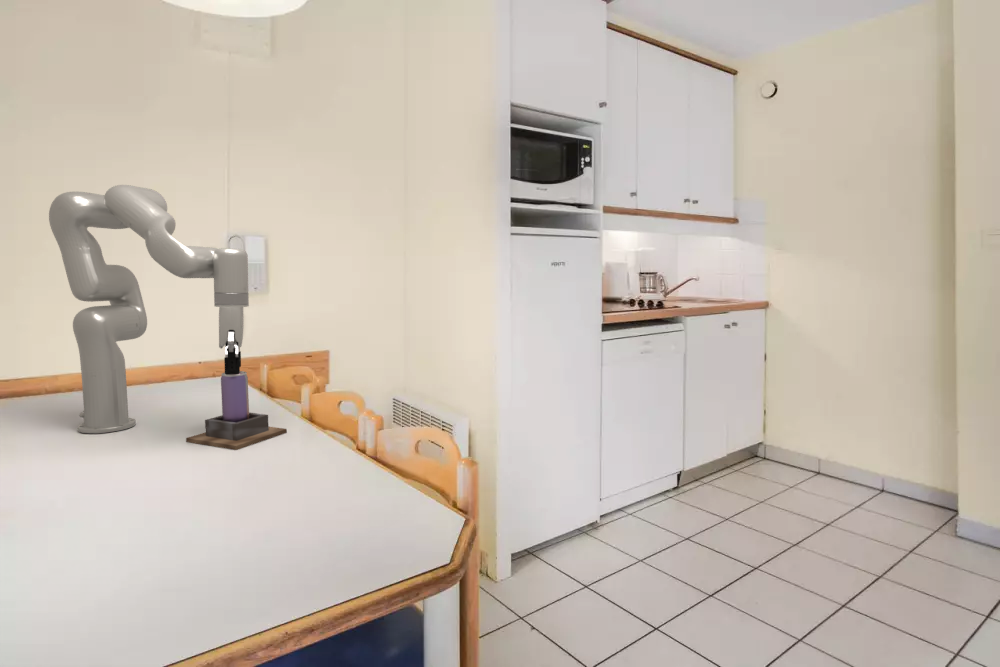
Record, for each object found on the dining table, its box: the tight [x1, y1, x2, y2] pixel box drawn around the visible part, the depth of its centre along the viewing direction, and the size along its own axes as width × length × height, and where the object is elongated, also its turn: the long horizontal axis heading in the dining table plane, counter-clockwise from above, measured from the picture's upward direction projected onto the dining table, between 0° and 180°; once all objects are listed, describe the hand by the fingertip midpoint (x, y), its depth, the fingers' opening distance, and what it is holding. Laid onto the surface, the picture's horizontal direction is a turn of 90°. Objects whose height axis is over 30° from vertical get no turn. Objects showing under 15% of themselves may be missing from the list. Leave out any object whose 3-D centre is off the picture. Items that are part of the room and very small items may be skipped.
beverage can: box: [220, 370, 250, 422], centre depth 145 cm, size 6×6×15 cm
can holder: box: [185, 412, 288, 451], centre depth 145 cm, size 16×16×5 cm
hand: (233, 370), depth 144 cm, fingers open, 9 cm apart
